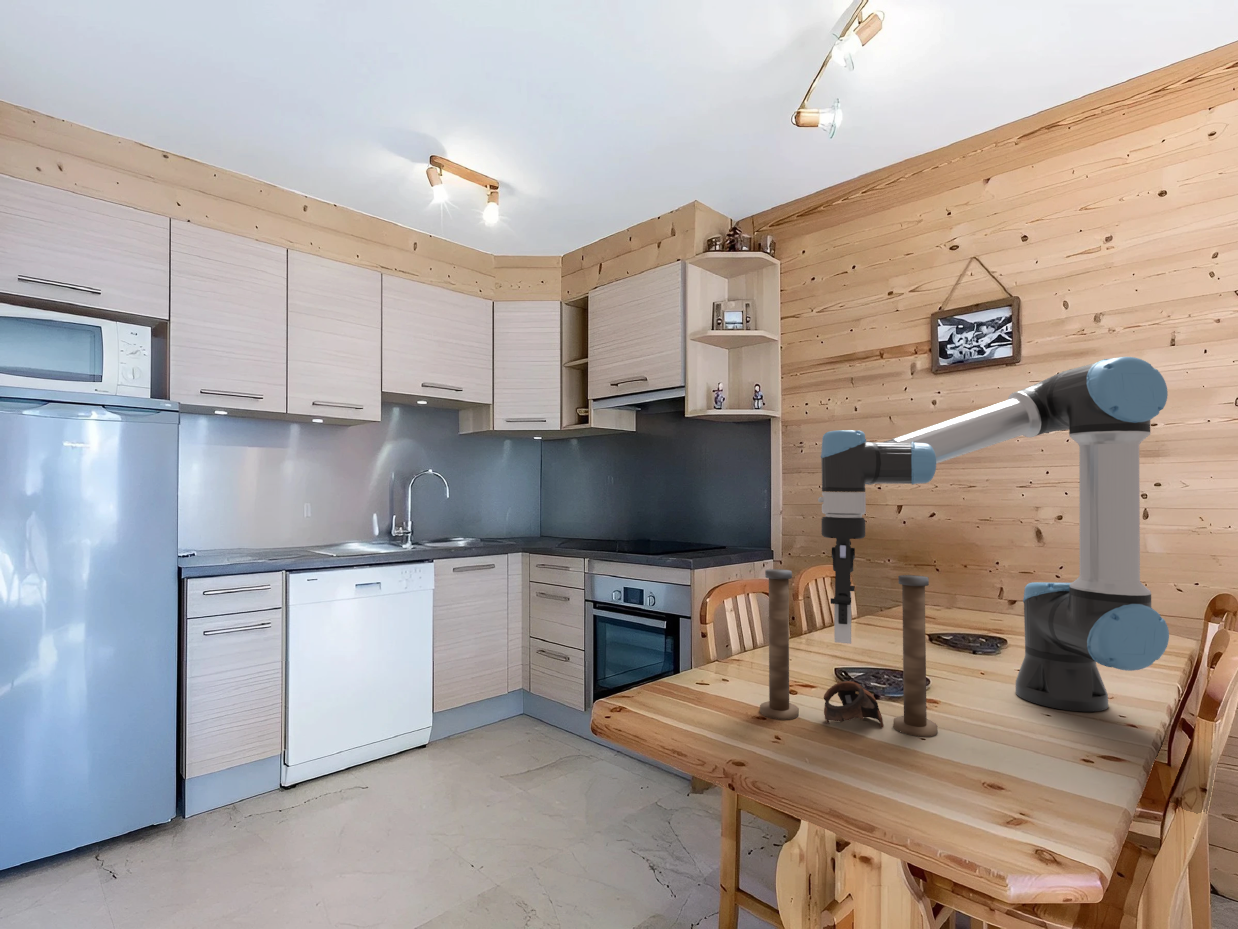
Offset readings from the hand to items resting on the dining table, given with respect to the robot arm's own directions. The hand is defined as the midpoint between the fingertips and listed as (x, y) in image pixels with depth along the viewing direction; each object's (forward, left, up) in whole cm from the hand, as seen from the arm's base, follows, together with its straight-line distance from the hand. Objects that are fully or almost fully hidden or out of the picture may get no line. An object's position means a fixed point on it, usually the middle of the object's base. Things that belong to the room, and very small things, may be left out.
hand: (843, 634), depth 117 cm
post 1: (+11, 0, -15) cm, 19 cm away
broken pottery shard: (-1, 0, -16) cm, 16 cm away
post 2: (-12, 0, -15) cm, 19 cm away
